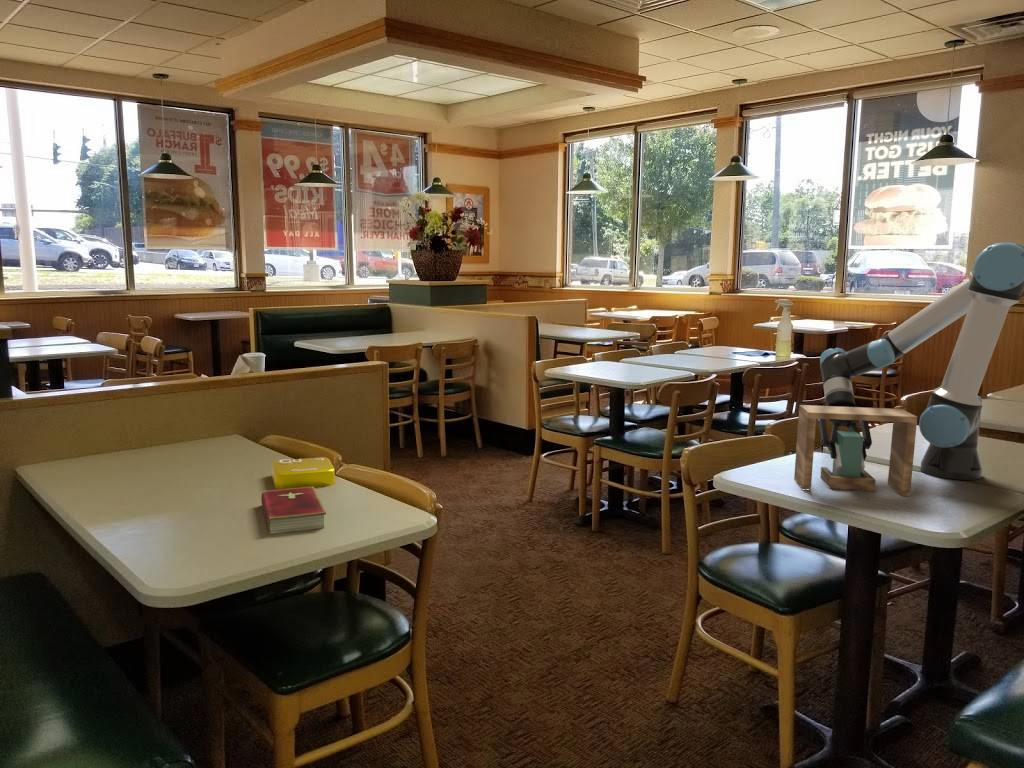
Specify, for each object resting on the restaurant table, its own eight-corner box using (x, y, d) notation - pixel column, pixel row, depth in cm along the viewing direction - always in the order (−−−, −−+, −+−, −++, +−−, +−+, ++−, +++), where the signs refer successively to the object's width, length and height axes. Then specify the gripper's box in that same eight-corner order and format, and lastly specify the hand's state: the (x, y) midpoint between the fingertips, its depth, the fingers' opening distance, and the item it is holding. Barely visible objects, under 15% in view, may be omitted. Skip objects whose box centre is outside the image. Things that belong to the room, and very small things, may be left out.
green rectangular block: (851, 474, 210) (855, 431, 209) (859, 482, 203) (863, 437, 201) (832, 473, 211) (835, 430, 209) (839, 480, 203) (843, 436, 202)
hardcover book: (268, 536, 161) (267, 517, 161) (261, 507, 181) (261, 490, 180) (326, 530, 166) (325, 511, 165) (314, 502, 185) (313, 485, 184)
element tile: (275, 491, 193) (274, 473, 193) (271, 476, 207) (270, 459, 206) (336, 486, 199) (335, 468, 198) (328, 471, 213) (327, 454, 212)
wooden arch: (892, 481, 209) (898, 407, 206) (909, 496, 195) (917, 416, 192) (792, 476, 213) (797, 403, 210) (802, 490, 199) (808, 412, 196)
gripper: (869, 406, 218) (882, 478, 204) (803, 403, 221) (811, 474, 207) (877, 390, 212) (891, 463, 198) (808, 388, 215) (817, 459, 201)
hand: (850, 468), depth 203 cm, fingers closed on green rectangular block, 5 cm apart
